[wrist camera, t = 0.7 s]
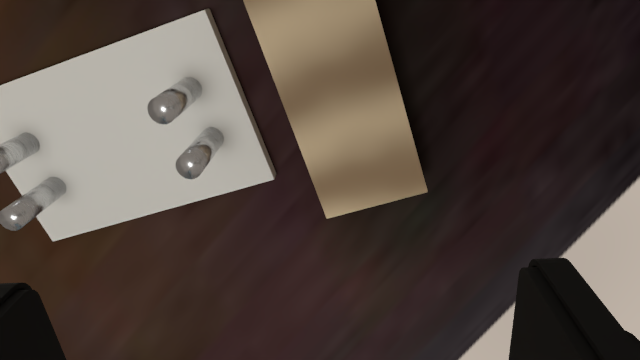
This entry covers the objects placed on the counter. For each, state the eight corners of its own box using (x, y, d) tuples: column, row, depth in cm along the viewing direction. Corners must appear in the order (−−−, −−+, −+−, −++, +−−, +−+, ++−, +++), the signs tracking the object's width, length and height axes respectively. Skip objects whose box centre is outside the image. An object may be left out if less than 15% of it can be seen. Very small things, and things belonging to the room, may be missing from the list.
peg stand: (209, 8, 29) (175, 18, 24) (276, 173, 34) (261, 213, 28) (-31, 96, 33) (-107, 123, 27) (60, 234, 37) (9, 280, 32)
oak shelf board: (235, -59, 28) (219, -62, 24) (345, -104, 26) (344, -113, 23) (329, 195, 35) (326, 218, 31) (420, 170, 33) (427, 192, 30)
